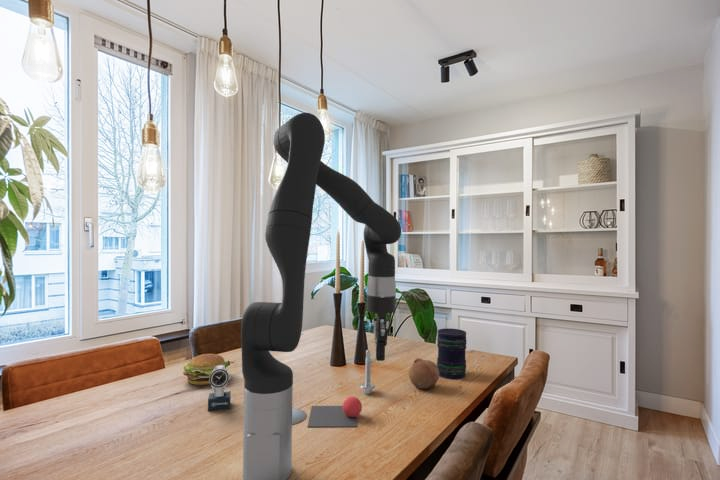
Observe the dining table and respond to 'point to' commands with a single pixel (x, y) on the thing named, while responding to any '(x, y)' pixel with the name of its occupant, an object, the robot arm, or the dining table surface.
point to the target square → (330, 417)
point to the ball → (352, 406)
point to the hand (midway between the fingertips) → (380, 359)
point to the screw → (367, 376)
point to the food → (203, 368)
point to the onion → (423, 374)
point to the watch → (219, 389)
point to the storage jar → (451, 353)
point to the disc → (297, 415)
